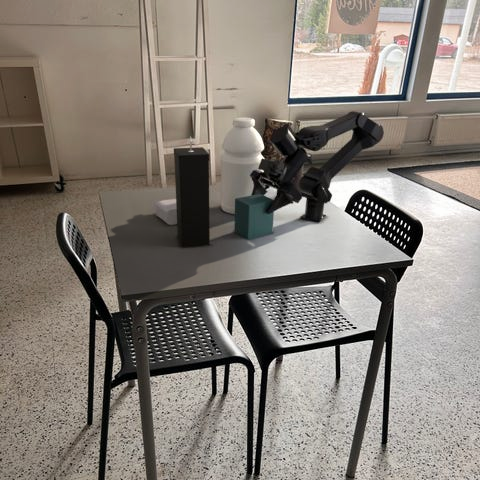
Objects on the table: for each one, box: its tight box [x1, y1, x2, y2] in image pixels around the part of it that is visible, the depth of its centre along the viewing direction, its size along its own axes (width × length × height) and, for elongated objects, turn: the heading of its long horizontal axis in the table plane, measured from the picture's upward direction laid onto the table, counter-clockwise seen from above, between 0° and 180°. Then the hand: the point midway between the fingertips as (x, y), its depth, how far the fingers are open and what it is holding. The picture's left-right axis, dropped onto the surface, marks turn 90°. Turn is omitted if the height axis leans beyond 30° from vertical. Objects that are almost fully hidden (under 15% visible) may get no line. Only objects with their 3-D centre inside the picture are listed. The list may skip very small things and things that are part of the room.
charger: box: [155, 198, 177, 226], centre depth 156 cm, size 5×9×15 cm
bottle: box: [219, 116, 265, 215], centre depth 158 cm, size 14×14×28 cm
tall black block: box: [173, 136, 211, 248], centre depth 133 cm, size 8×8×28 cm
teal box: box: [233, 194, 275, 240], centre depth 145 cm, size 9×7×10 cm
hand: (258, 209), depth 144 cm, fingers open, 8 cm apart
